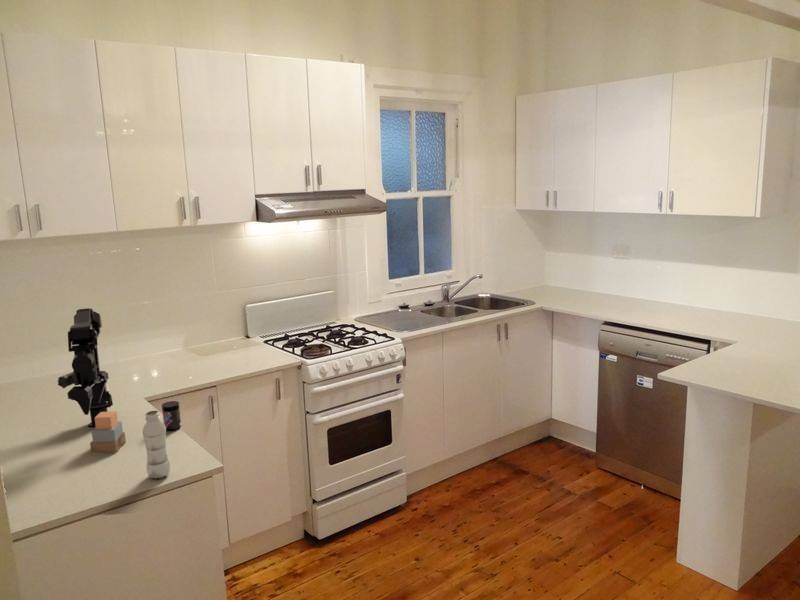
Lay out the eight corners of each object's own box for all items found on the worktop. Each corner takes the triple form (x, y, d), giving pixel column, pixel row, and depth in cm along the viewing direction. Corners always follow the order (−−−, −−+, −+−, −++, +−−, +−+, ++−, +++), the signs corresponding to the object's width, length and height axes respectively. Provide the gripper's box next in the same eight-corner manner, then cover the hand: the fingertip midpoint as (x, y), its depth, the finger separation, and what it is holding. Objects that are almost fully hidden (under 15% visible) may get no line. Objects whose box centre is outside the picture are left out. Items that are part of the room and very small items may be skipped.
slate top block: (101, 433, 211) (99, 422, 210) (122, 432, 211) (121, 421, 211) (93, 442, 204) (91, 431, 203) (115, 441, 205) (114, 429, 204)
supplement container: (164, 426, 225) (161, 402, 223) (181, 424, 227) (179, 400, 225) (163, 432, 220) (160, 408, 218) (181, 430, 221) (178, 405, 219)
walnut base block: (101, 444, 212) (100, 433, 211) (126, 443, 213) (124, 432, 212) (91, 454, 204) (90, 443, 204) (116, 453, 205) (115, 442, 204)
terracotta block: (102, 423, 209) (100, 411, 209) (117, 422, 210) (116, 411, 209) (96, 429, 204) (94, 417, 204) (111, 428, 205) (110, 417, 204)
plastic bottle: (142, 479, 186) (134, 416, 182) (158, 469, 193) (151, 407, 188) (160, 483, 184) (152, 418, 180) (175, 472, 190) (169, 409, 186)
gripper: (72, 356, 214) (78, 399, 217) (46, 374, 195) (54, 422, 199) (106, 354, 214) (111, 398, 218) (84, 373, 196) (90, 420, 200)
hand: (92, 409), depth 209 cm, fingers open, 9 cm apart
